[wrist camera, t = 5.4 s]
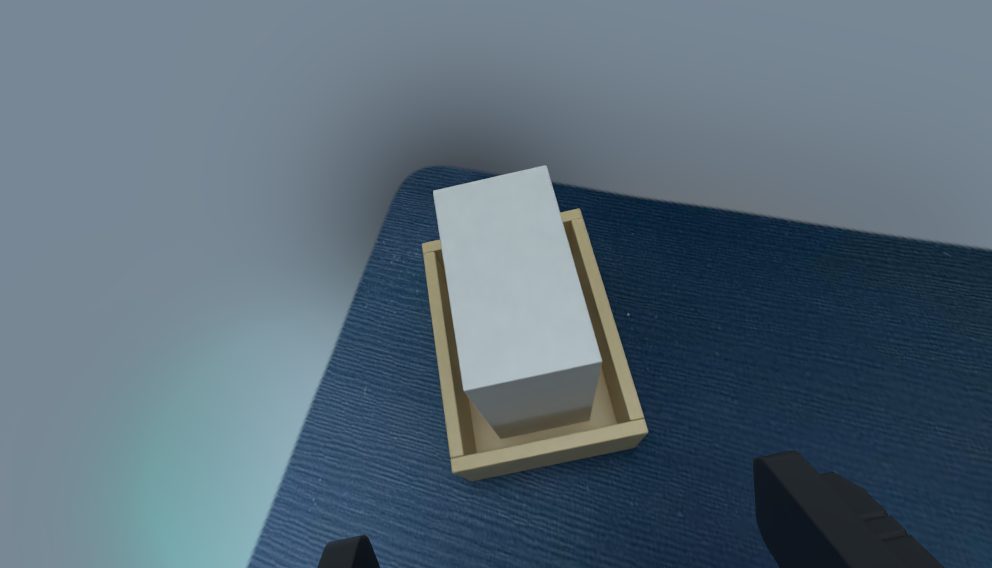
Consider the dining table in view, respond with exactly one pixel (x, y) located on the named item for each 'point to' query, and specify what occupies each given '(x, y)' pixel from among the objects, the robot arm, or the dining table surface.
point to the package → (517, 304)
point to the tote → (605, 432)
